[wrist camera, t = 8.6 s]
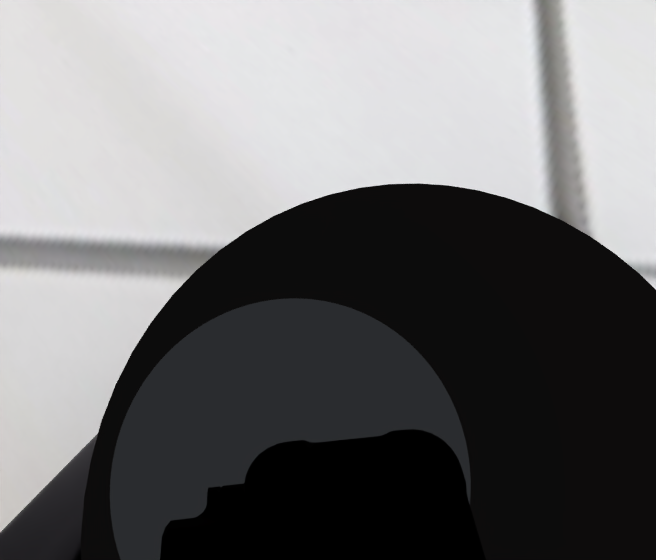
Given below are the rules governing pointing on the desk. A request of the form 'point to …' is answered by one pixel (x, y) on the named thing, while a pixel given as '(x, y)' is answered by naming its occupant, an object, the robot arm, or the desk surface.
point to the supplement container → (388, 393)
